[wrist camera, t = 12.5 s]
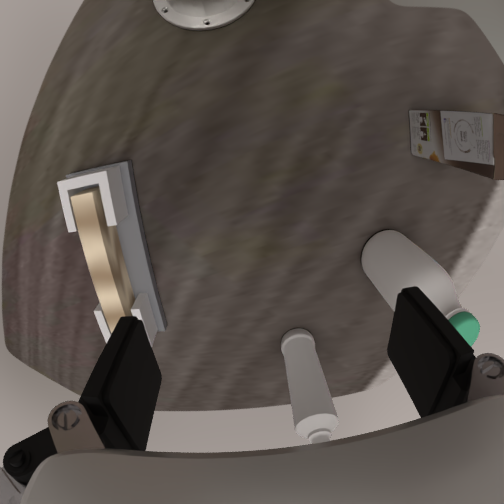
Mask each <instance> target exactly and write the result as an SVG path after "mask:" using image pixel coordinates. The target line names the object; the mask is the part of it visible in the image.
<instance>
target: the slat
mask: <svg viewBox="0 0 504 504" xmlns="http://www.w3.org/2000/svg"><path fill="white" fill-rule="evenodd" d="M71 202H72V206H73V211H74V215H75V219H76V223H77V227H78V231H79V235H80V239H81V243H82V246H83V250H84V254H85V257H86V261H87V264H88V267H89V271H90V274H91V277H92V280H93V283H94V286H95V289H96V292H97V295H98V298H99V301H100V304H101V307H102V309H103V312H104V315H105V318H106V320H107V323H108V326H109V328H110V331H111V333H112V332H113V330H114V328H115V326H116V324H117V323H118V321H119V319H120V317H123V316H133V315H132V312H131V308H132V306H133V304H134V302H135V297H134V293H133V290H132V286H131V283H130V279H129V276H128V272H127V268H126V265H125V261H124V257H123V253H122V249H121V245H120V241H119V236H118V232H117V228H116V225H114V226H107V221H106V217H105V212H104V207H103V203H102V198H101V193H100V187H99V186H96V187H91V188H87V189H85V190H83V191H81V192H79V193H77V194H75V195H73V196H71Z"/></svg>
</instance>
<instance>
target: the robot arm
mask: <svg viewBox="0 0 504 504" xmlns="http://www.w3.org/2000/svg"><path fill="white" fill-rule="evenodd" d="M248 1H249V2H245V0H153V3H154V5H155V8H156V10H157V11H158V13H159V14H160V15H161V16H162V17H163V18H164V19H165V20H166V21H168V22H169V23H171V24H172V25H174V26H177V27H179V28H183V29H188V30H199V31H201V30H211V29H215V28H220V27H223V26H225V25H228V24H230V23H232V22H234V21H235V20H237V19H239V18H240V17H241V16H242V15H244V14H245V13H246V12H247V11H248V10H249V8H250V7H251V6H252V4H253V2H254V1H255V0H248ZM166 11H168V12H167V13H165V12H166ZM206 23H210V24H209V25H206ZM387 352H388V356H389V358H390V360H391V362H392V364H393V365H394V367H395V369H396V371H397V373H398V375H399V376H400V378H401V380H402V382H403V384H404V386H405V388H406V389H407V391H408V393H409V395H410V397H411V399H412V401H413V403H414V405H415V407H416V409H417V411H418V413H419V415H420V416H421V418H419V419H416V420H413V421H410V422H407V423H403V424H400V425H396V426H393V427H389V428H385V429H382V430H378V431H374V432H370V433H365V434H361V435H357V436H352V437H347V438H343V439H338V440H332V441H327V442H321V443H315V444H308V445H302V446H294V447H287V448H278V449H268V450H256V451H242V452H221V453H180V452H151V451H145V450H146V446H147V441H148V436H149V431H150V427H151V423H152V419H153V414H154V410H155V406H156V402H157V397H158V393H159V389H160V385H161V380H162V377H161V372H160V369H159V366H158V364H157V361H156V358H155V356H154V353H153V350H152V347H151V344H150V341H149V339H148V336H147V333H146V330H145V327H144V324H143V321H142V320H138V318H137V317H136V316H123V317H120V319H119V321H118V323H117V324H116V326H115V328H114V330H113V332H112V334H111V336H110V338H109V340H108V342H107V344H106V346H105V348H104V350H103V352H102V354H101V355H100V357H99V359H98V361H97V363H96V365H95V367H94V369H93V371H92V373H91V376H90V378H89V380H88V382H87V384H86V386H85V388H84V391H83V393H82V395H81V397H80V399H79V402H76V401H65V402H62V403H60V404H58V405H57V406H55V407H54V408H53V409H52V410H51V412H50V414H49V416H48V426H49V427H48V428H46V429H44V430H42V431H40V432H38V433H36V434H34V435H32V436H30V437H28V438H26V439H25V440H23V441H21V442H19V443H17V444H15V445H13V446H12V447H10V448H9V449H8V450H7V451H6V453H5V455H4V459H3V465H4V466H3V467H2V468H1V467H0V504H504V360H503V359H502V358H501V357H500V356H498V355H495V354H492V353H485V354H481V355H479V356H477V358H476V357H475V356H474V355H473V353H474V350H473V349H472V347H471V346H470V345H469V344H468V343H467V341H466V340H465V339H464V338H463V337H462V336H461V334H460V333H459V332H458V331H457V330H456V328H455V327H454V326H453V325H452V324H451V323H450V322H449V320H448V319H447V318H446V317H445V316H444V315H443V314H442V313H441V311H440V310H439V309H438V308H437V307H436V306H435V305H434V304H433V303H432V301H431V300H430V299H429V298H428V297H427V296H426V295H425V294H424V293H423V292H422V291H421V290H420V289H419V287H417V286H413V287H408V288H403V289H402V290H401V293H398V295H397V300H396V306H395V312H394V318H393V323H392V328H391V333H390V338H389V343H388V348H387Z"/></svg>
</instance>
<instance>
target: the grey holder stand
mask: <svg viewBox="0 0 504 504" xmlns="http://www.w3.org/2000/svg"><path fill="white" fill-rule="evenodd" d="M57 183H58V188H59V193H60V198H61V203H62V207H63V211H64V216H65V220H66V224H67V228H68V232H74V231H77V230H78V227H77V223H76V219H75V215H74V211H73V206H72V202H71V196H73V195H75V194H77V193H79V192H81V191H83V190H85V189H87V188H91V187H96V186H99V187H100V193H101V198H102V203H103V207H104V212H105V217H106V221H107V226H114V225H116V228H117V232H118V236H119V241H120V245H121V249H122V253H123V257H124V261H125V265H126V268H127V272H128V276H129V279H130V283H131V286H132V290H133V293H134V297H135V302H134V304H133V306H132V308H131V312H132V315H133V316H136V317H137V318H138V320H142V321H143V324H144V327H145V330H146V333H147V336H148V339H149V341H150V344H151V347H152V345H153V342H154V339H155V336H156V333H157V331H166V327H167V322H166V319H165V315H164V312H163V308H162V304H161V301H160V297H159V293H158V289H157V285H156V281H155V277H154V273H153V269H152V265H151V260H150V256H149V252H148V247H147V243H146V238H145V233H144V228H143V223H142V218H141V213H140V208H139V203H138V197H137V192H136V186H135V180H134V174H133V168H132V161H131V160H129V161H124V162H119V163H114V164H109V165H104V166H100V167H95V168H91V169H87V170H83V171H78V172H74V173H71V174H68V175H66V179H64V180H61V181H59V182H57ZM78 232H79V231H78ZM79 236H80V235H79ZM80 240H81V239H80ZM81 244H82V243H81ZM82 247H83V246H82ZM83 251H84V250H83ZM85 258H86V257H85ZM87 265H88V264H87ZM88 268H89V267H88ZM91 278H92V277H91ZM92 281H93V280H92ZM93 284H94V283H93ZM94 287H95V286H94ZM95 290H96V289H95ZM96 293H97V292H96ZM97 296H98V295H97ZM98 299H99V298H98ZM94 313H95V316H96V318H97V321H98V324H99V326H100V329H101V331H102V334H103V336H104V338H105V341H106V343H107V342H108V340H109V338H110V336H111V334H112V333H111V331H110V328H109V326H108V323H107V320H106V318H105V315H104V312H103V309H102V307H101V304H100V301H99V304H98V305H97V307H96V308H95V310H94Z"/></svg>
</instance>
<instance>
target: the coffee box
mask: <svg viewBox="0 0 504 504" xmlns="http://www.w3.org/2000/svg"><path fill="white" fill-rule="evenodd" d="M409 118H410V134H411V153H412V155H415V156H418V157H421V158H425V159H429V160H433V161H437V162H440V163H443V164H447V165H451V166H454V167H457V168H460V169H464V170H467V171H470V172H473V173H476V174H479V175H482V176H485V177H488V178H491V179H493V180H504V115H502V114H497V113H480V112H466V111H442V110H410V111H409Z"/></svg>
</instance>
